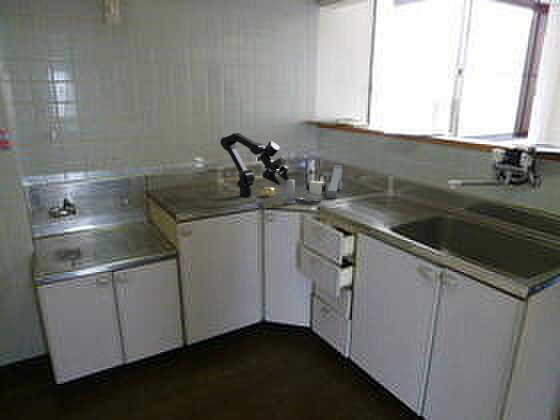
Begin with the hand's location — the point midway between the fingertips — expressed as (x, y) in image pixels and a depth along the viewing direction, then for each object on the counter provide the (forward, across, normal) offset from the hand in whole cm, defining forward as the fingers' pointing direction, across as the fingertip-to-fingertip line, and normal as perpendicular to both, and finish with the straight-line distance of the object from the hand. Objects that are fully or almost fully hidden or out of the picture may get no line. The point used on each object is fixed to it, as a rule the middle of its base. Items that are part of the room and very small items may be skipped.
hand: (284, 183), depth 213 cm
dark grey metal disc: (+10, +10, +6) cm, 15 cm away
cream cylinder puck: (-5, +9, +20) cm, 22 cm away
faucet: (+16, +38, 0) cm, 42 cm away
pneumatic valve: (+17, +14, -1) cm, 22 cm away
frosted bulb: (+10, 0, +5) cm, 12 cm away
